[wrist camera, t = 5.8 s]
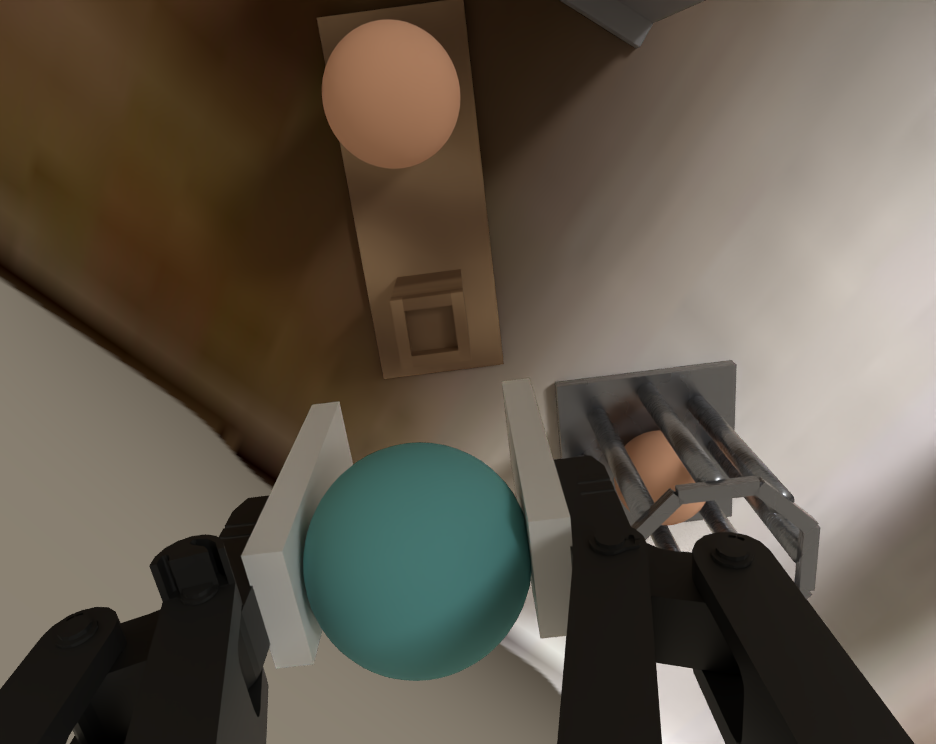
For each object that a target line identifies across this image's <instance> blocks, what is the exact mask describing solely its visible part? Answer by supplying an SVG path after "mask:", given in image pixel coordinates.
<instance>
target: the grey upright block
mask: <svg viewBox="0 0 936 744" xmlns="http://www.w3.org/2000/svg"><path fill="white" fill-rule="evenodd" d="M560 1H562V2H563V3H565V4H566V5H568V6H569V7H571V8H573V9H574V10H576V11H577V12H579V13H581V14H582V15H584V16H585V17H587V18H589V19H590V20H592V21H593V22H595V23H596V24H598V25H600V26H601V27H603V28H604V29H606V30H608V31H609V32H611V33H612V34H614V35H616V36H617V37H619V38H620V39H622V40H623V41H625V42H627V43H628V44H630V45H631V46H633V47H635V48H639V47H640V46H641V44H642V43H643V41H644V39H645V37H646V35H647V34H648V32H649V30H650V28H651V26H652V25H653V23H655V22H657V21H659V20H662V19H664V18H666V17H668V16H671V15H673V14H675V13H678V12H680V11H682V10H684V9H687V8H689V7H691V6H694V5H696V4H698V3H700V2H703V1H705V0H560Z"/></svg>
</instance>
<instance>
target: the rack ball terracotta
mask: <svg viewBox="0 0 936 744" xmlns="http://www.w3.org/2000/svg"><path fill="white" fill-rule="evenodd" d="M322 100H323V107H324V111H325V115H326V118H327V120H328V123H329V125H330V127H331V129H332V131H333V133H334V134H335V136H336V137H337V139H338V140H339V141H340V143H341V144H342V145H343V146H344V147H345V148H346V149H347V150H348V151H349V152H350V153H352V154H353V155H354V156H356V157H357V158H359V159H360V160H362V161H364V162H366V163H368V164H371V165H374V166H377V167H382V168H389V169H399V168H406V167H411V166H414V165H417V164H420V163H422V162H424V161H426V160H427V159H429V158H430V157H432V156H433V155H434V154H436V153H437V152H438V151H439V150H440V149H441V148H442V147H443V145H444V144H445V143H446V142H447V140H448V139H449V137H450V135H451V134H452V132H453V129H454V127H455V125H456V122H457V119H458V114H459V109H460V86H459V80H458V76H457V73H456V70H455V67H454V65H453V63H452V61H451V59H450V57H449V55H448V54H447V52H446V51H445V49H444V48H443V47H442V46H441V44H440V43H439V42H438V41H437V40H436V39H435V38H434V37H433V36H431V35H430V34H429V33H427V32H426V31H425V30H423V29H421V28H419V27H417V26H415V25H413V24H410V23H408V22H404V21H400V20H390V19H386V20H377V21H372V22H369V23H366V24H363V25H361V26H359V27H357V28H355V29H354V30H352V31H351V32H350V33H348V34H347V35H346V36H345V37H344V38H343V39H342V40H341V41H340V42H339V43H338V44H337V46H336V47H335V48H334V50H333V52H332V53H331V55H330V57H329V59H328V62H327V64H326V67H325V71H324V75H323V82H322Z"/></svg>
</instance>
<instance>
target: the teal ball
mask: <svg viewBox="0 0 936 744" xmlns="http://www.w3.org/2000/svg"><path fill="white" fill-rule="evenodd" d="M531 573H532V568H531V558H530V549H529V542H528V534H527V528H526V521H525V517H524V513H523V510H522V508H521V507H520V505H519V503H518V501H517V499H516V497H515V496H514V494H513V492H512V491H511V490H510V488H509V487H508V486H507V484H506V483H505V482H504V481H503V480H502V479H501V478H500V477H499V476H498V475H497V474H496V473H495V472H494V471H493V470H492V469H491V468H490V467H489V466H487V465H486V464H485V463H483V462H482V461H480V460H479V459H477V458H475V457H474V456H472V455H470V454H468V453H465V452H463V451H461V450H458V449H456V448H452V447H449V446H445V445H440V444H434V443H421V442H419V443H406V444H400V445H395V446H391V447H388V448H385V449H382V450H379V451H376V452H374V453H372V454H370V455H368V456H366V457H364V458H363V459H361V460H359V461H358V462H356V463H355V464H354V465H352V466H351V467H350V468H348V469H347V470H346V471H345V472H344V473H342V474H341V475H340V476H339V477H338V478H337V479H336V481H335V482H334V483H333V484H332V485H331V486H330V488H329V489H328V490H327V492H326V493H325V495H324V496H323V497H322V499H321V500H320V502H319V504H318V506H317V508H316V510H315V512H314V515H313V517H312V519H311V522H310V525H309V528H308V531H307V535H306V540H305V546H304V553H303V576H304V582H305V587H306V592H307V597H308V600H309V603H310V606H311V609H312V611H313V613H314V615H315V618H316V620H317V621H318V623H319V625H320V627H321V629H322V630H323V631H324V632H325V634H326V635H327V637H328V638H329V639H330V641H331V642H332V643H333V644H334V645H335V646H336V647H337V648H338V649H339V650H340V651H341V652H342V653H343V654H344V655H346V656H347V657H348V658H350V659H351V660H352V661H354V662H355V663H357V664H359V665H360V666H362V667H363V668H365V669H367V670H369V671H371V672H374V673H377V674H379V675H382V676H385V677H389V678H394V679H401V680H413V681H419V680H431V679H436V678H442V677H445V676H449V675H452V674H455V673H457V672H460V671H462V670H464V669H466V668H468V667H469V666H471V665H473V664H475V663H476V662H478V661H480V660H481V659H482V658H484V657H485V656H486V655H487V654H489V653H490V652H491V651H492V650H493V649H494V648H495V647H496V646H497V645H498V644H499V643H500V642H501V641H502V640H503V639H504V638H505V636H506V635H507V634H508V632H509V631H510V629H511V628H512V626H513V625H514V623H515V622H516V620H517V618H518V616H519V614H520V612H521V610H522V608H523V606H524V603H525V600H526V597H527V593H528V590H529V587H530V580H531Z"/></svg>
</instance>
